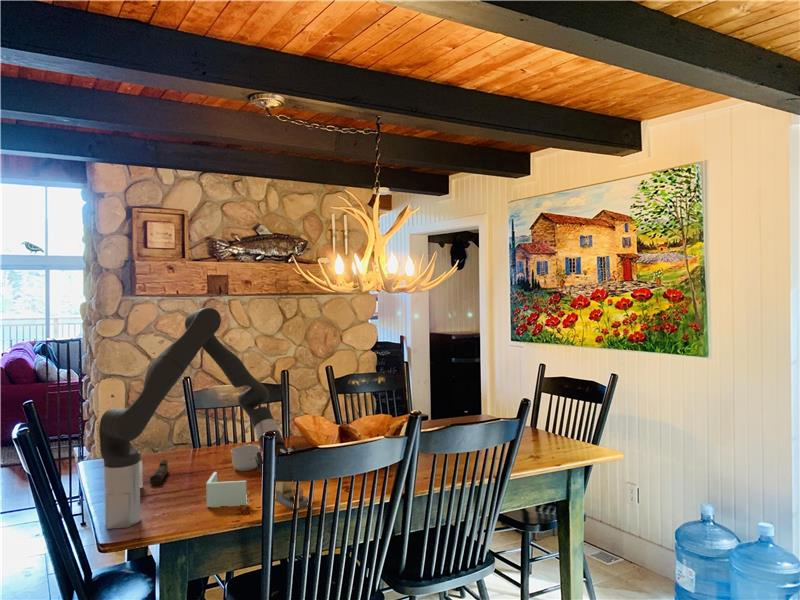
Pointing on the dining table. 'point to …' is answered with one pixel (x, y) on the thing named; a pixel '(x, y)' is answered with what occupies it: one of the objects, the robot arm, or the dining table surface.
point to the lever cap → (284, 487)
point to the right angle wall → (225, 492)
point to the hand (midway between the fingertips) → (285, 478)
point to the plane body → (292, 499)
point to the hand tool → (159, 473)
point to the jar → (140, 470)
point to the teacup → (245, 457)
